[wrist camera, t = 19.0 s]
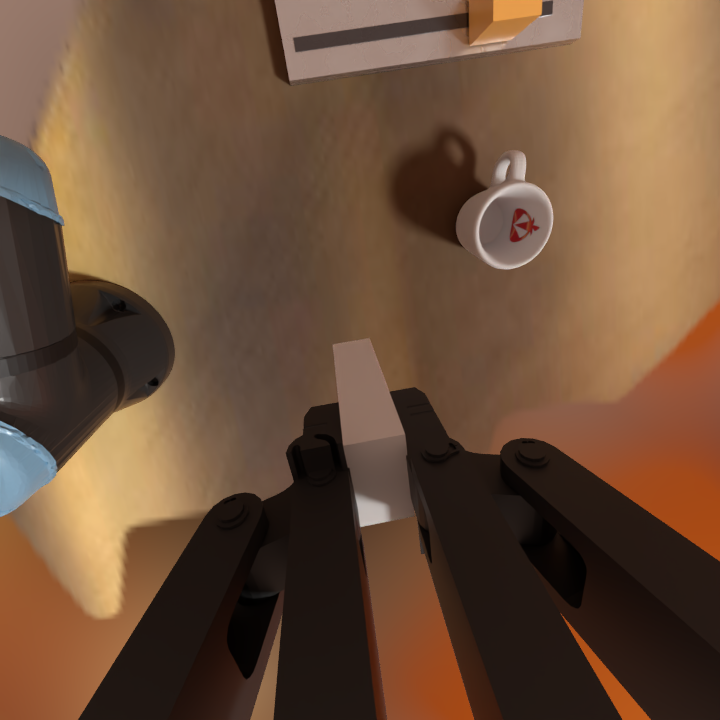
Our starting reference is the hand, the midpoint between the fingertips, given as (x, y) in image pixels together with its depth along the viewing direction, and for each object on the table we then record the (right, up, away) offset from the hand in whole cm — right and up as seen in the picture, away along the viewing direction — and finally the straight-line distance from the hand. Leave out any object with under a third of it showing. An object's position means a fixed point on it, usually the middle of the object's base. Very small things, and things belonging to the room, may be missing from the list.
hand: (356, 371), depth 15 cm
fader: (+12, +32, +18) cm, 38 cm away
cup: (+14, +18, +26) cm, 35 cm away
